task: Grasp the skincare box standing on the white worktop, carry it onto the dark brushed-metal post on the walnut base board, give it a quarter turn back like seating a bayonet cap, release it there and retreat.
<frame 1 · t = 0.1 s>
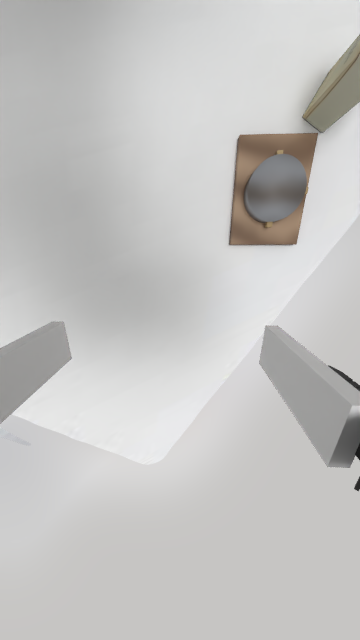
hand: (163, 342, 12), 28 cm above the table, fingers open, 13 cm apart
bayonet base: (267, 195, 33), on the table
skincare box: (324, 105, 29), on the table
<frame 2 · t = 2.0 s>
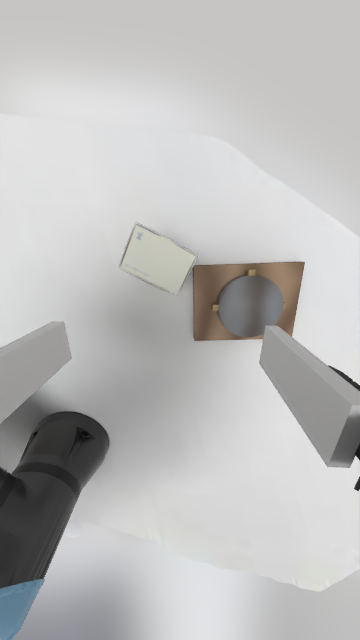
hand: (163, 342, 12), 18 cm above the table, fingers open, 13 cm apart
bayonet base: (243, 302, 30), on the table
skincare box: (166, 259, 28), on the table
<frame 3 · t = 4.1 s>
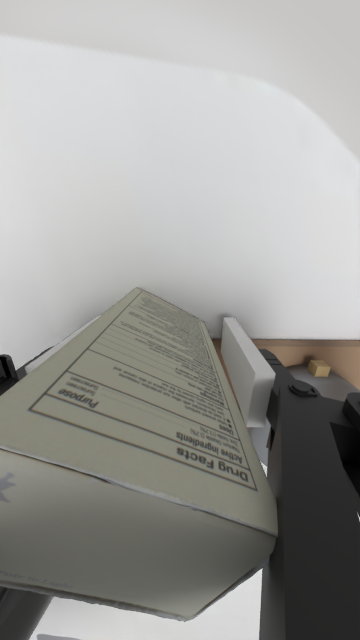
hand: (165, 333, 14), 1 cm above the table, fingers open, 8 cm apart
bayonet base: (287, 398, 17), on the table
skincare box: (162, 325, 15), on the table
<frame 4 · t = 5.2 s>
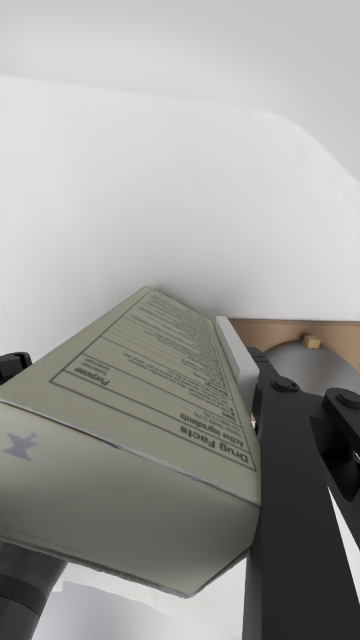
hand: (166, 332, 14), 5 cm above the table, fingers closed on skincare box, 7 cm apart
bayonet base: (286, 371, 20), on the table
skincare box: (170, 323, 16), point 3 cm above the table, touching gripper
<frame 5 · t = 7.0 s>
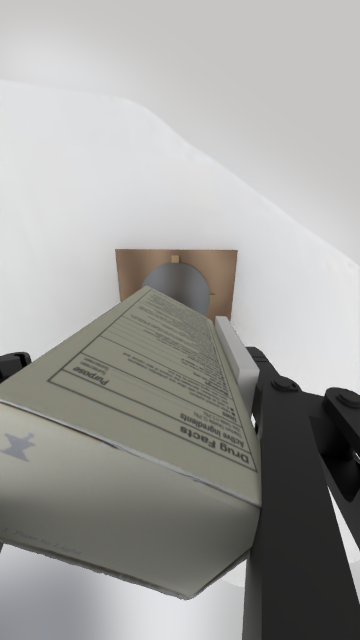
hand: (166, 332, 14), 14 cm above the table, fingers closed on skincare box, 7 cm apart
bayonet base: (176, 293, 28), on the table
skincare box: (170, 323, 15), point 13 cm above the table, touching gripper
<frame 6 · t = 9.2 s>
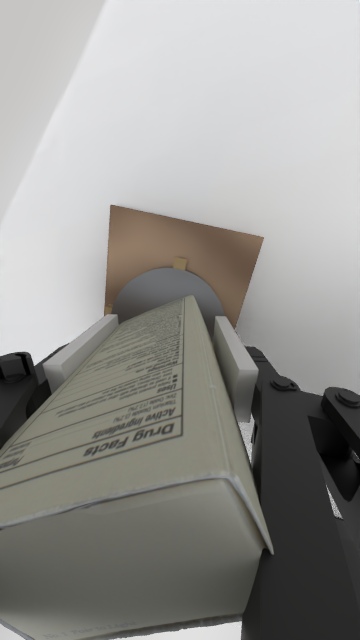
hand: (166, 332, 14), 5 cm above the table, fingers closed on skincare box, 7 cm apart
bayonet base: (171, 313, 18), on the table
skincare box: (168, 329, 15), point 4 cm above the table, touching bayonet base, gripper
when the fingers open (5 cm above the table, at t = 9.4 s): skincare box stays where it is, resting on bayonet base.
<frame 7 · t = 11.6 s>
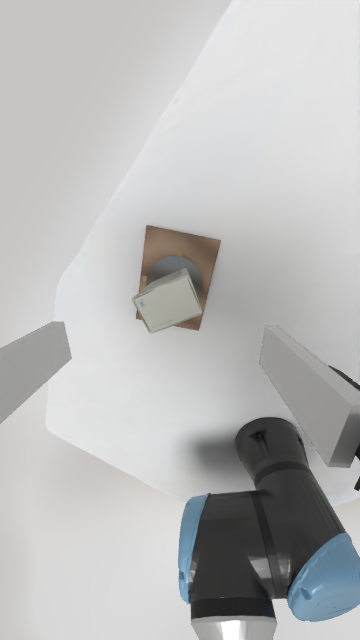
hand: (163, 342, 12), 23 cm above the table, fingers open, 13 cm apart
bayonet base: (175, 281, 34), on the table
skincare box: (174, 285, 30), point 3 cm above the table, touching bayonet base
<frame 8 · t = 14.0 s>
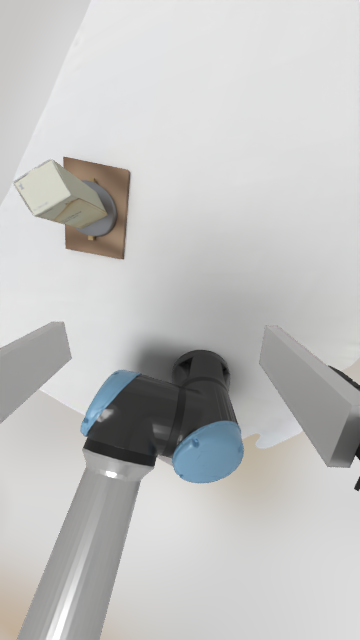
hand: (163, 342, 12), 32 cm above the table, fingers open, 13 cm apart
bayonet base: (97, 213, 38), on the table
skincare box: (89, 210, 35), point 3 cm above the table, touching bayonet base
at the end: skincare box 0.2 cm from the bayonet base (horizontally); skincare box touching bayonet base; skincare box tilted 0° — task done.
